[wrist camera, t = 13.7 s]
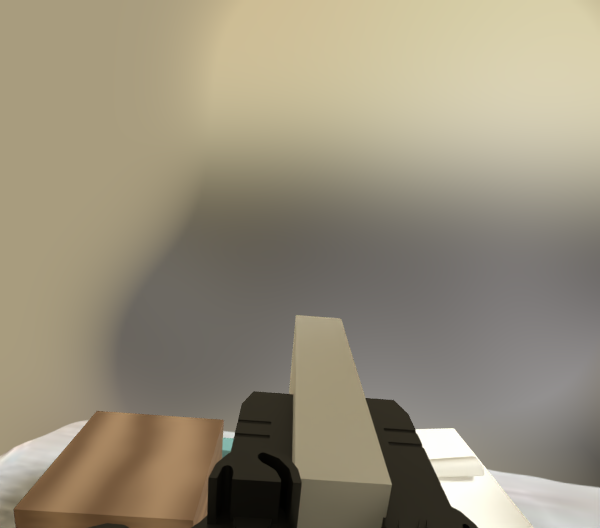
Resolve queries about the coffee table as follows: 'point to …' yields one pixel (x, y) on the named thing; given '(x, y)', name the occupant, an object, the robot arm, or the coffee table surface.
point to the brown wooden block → (128, 474)
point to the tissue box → (469, 481)
